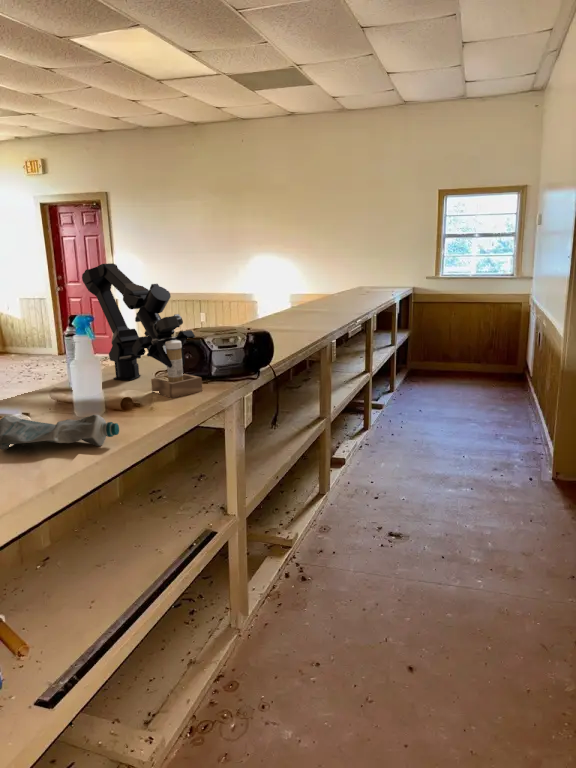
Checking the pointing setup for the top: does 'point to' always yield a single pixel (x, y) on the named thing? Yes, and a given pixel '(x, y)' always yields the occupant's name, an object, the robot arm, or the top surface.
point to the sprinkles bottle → (174, 360)
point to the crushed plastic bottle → (56, 431)
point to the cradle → (178, 386)
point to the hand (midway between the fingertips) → (177, 365)
